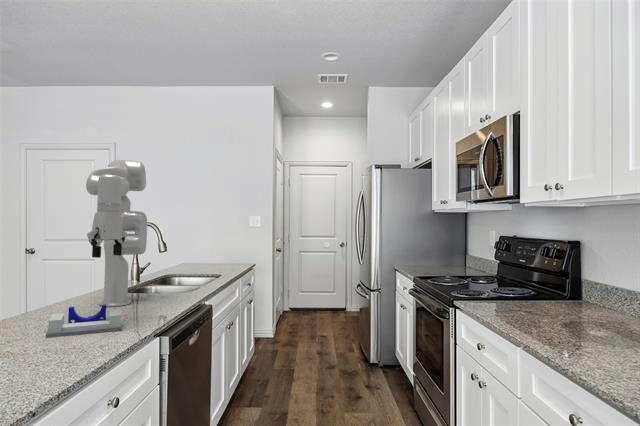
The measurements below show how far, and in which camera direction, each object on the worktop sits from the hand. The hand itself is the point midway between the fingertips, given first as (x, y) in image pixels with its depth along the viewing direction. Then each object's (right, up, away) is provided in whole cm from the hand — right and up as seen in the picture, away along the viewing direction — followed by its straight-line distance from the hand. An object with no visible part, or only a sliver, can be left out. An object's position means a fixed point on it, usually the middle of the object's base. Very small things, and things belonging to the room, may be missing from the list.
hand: (107, 256), depth 144 cm
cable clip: (-10, -25, +5) cm, 28 cm away
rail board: (-4, -25, -5) cm, 26 cm away
